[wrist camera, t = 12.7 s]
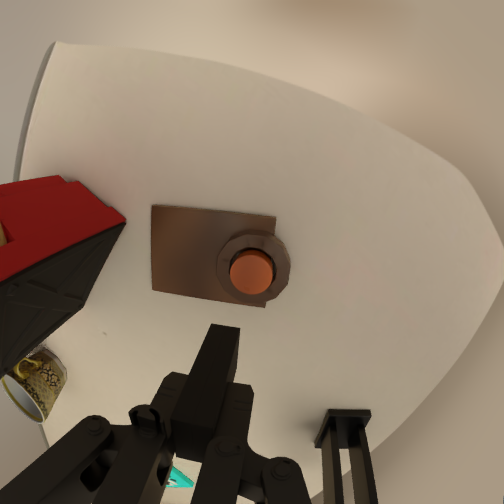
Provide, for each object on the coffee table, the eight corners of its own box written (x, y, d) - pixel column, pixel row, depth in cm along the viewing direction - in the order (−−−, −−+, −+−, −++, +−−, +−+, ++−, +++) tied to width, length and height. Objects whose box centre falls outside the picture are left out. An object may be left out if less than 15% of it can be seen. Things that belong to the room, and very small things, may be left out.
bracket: (352, 442, 35) (364, 548, 17) (314, 442, 36) (315, 553, 18) (370, 409, 33) (394, 529, 15) (328, 409, 33) (337, 537, 15)
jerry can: (73, 165, 27) (-82, 195, 8) (133, 218, 28) (-28, 300, 9) (35, 264, 32) (-72, 328, 13) (83, 313, 33) (-18, 406, 14)
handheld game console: (195, 483, 44) (193, 488, 43) (141, 482, 48) (139, 486, 46) (164, 458, 42) (162, 464, 40) (111, 458, 45) (109, 462, 44)
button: (275, 252, 26) (274, 258, 24) (270, 289, 27) (269, 297, 25) (234, 247, 26) (231, 252, 24) (231, 284, 27) (228, 291, 26)
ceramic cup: (76, 397, 40) (48, 433, 30) (35, 368, 40) (5, 399, 30) (74, 347, 36) (36, 387, 26) (29, 316, 35) (-11, 346, 26)
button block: (295, 219, 27) (296, 225, 24) (282, 307, 29) (282, 319, 27) (154, 204, 28) (142, 208, 25) (154, 287, 31) (145, 297, 28)
